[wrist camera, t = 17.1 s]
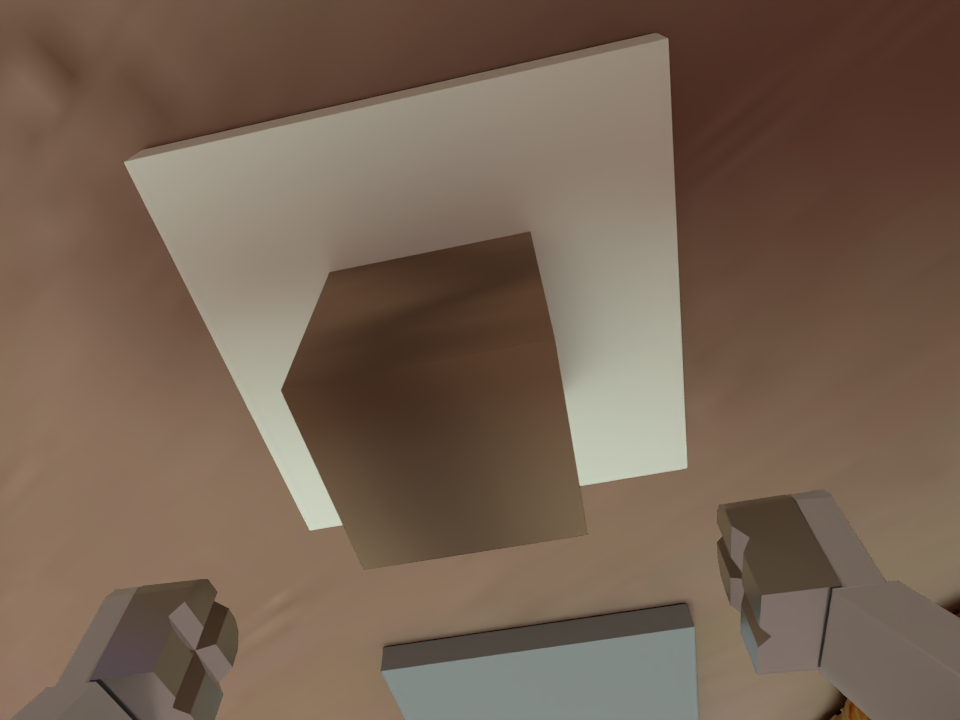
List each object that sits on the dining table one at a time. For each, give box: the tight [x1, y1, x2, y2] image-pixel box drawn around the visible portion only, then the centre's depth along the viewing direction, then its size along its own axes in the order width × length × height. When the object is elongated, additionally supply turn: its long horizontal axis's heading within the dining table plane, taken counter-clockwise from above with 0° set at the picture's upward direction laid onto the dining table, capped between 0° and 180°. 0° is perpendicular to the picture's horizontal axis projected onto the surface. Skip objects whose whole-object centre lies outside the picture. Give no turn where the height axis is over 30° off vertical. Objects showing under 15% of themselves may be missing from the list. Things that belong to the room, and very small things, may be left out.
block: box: [281, 232, 588, 570], centre depth 15 cm, size 5×5×5 cm
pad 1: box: [124, 33, 687, 530], centre depth 17 cm, size 12×12×1 cm
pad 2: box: [381, 604, 698, 720], centre depth 28 cm, size 12×12×1 cm
